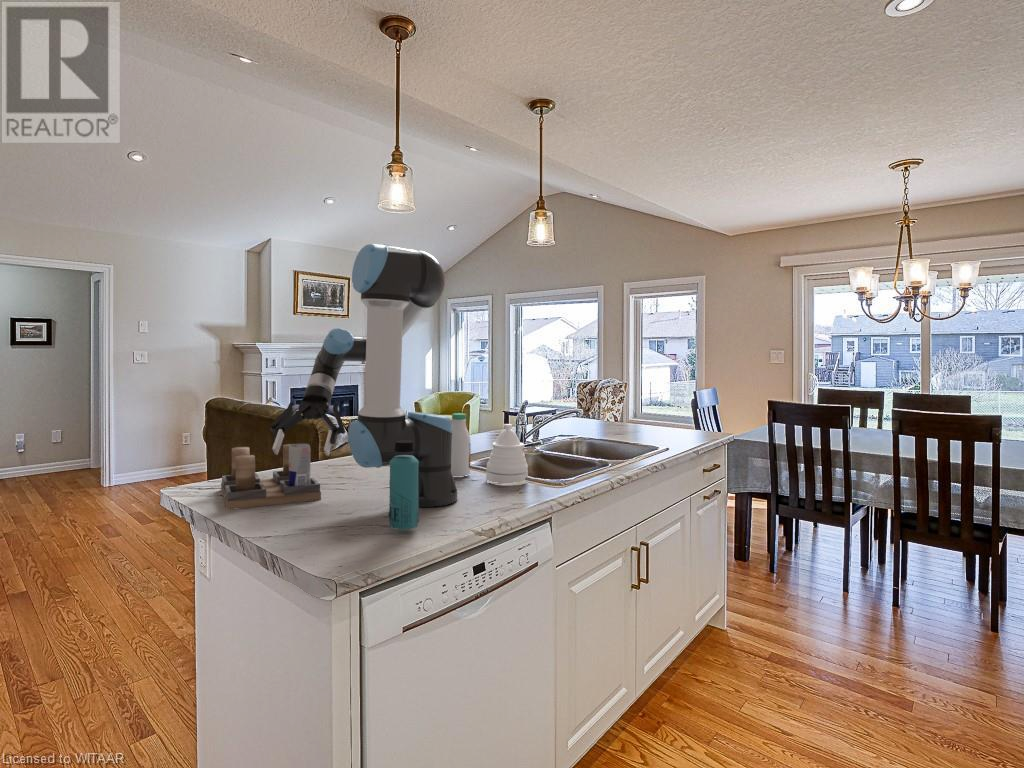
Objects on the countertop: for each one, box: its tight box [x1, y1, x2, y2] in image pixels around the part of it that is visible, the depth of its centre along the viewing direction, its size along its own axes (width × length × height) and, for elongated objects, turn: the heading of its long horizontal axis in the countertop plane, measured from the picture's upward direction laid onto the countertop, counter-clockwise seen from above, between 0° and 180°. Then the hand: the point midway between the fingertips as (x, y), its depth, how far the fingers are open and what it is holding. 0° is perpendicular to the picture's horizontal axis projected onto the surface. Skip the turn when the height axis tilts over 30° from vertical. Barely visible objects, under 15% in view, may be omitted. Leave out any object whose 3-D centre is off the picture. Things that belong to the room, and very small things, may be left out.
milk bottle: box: [451, 412, 472, 476], centre depth 176 cm, size 8×8×20 cm
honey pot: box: [485, 423, 529, 483], centre depth 170 cm, size 13×13×18 cm
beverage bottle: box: [388, 440, 420, 530], centre depth 119 cm, size 6×7×20 cm
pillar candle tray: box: [220, 443, 322, 510], centre depth 148 cm, size 22×22×12 cm
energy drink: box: [289, 443, 311, 487], centre depth 145 cm, size 5×5×12 cm
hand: (300, 452), depth 147 cm, fingers open, 13 cm apart
